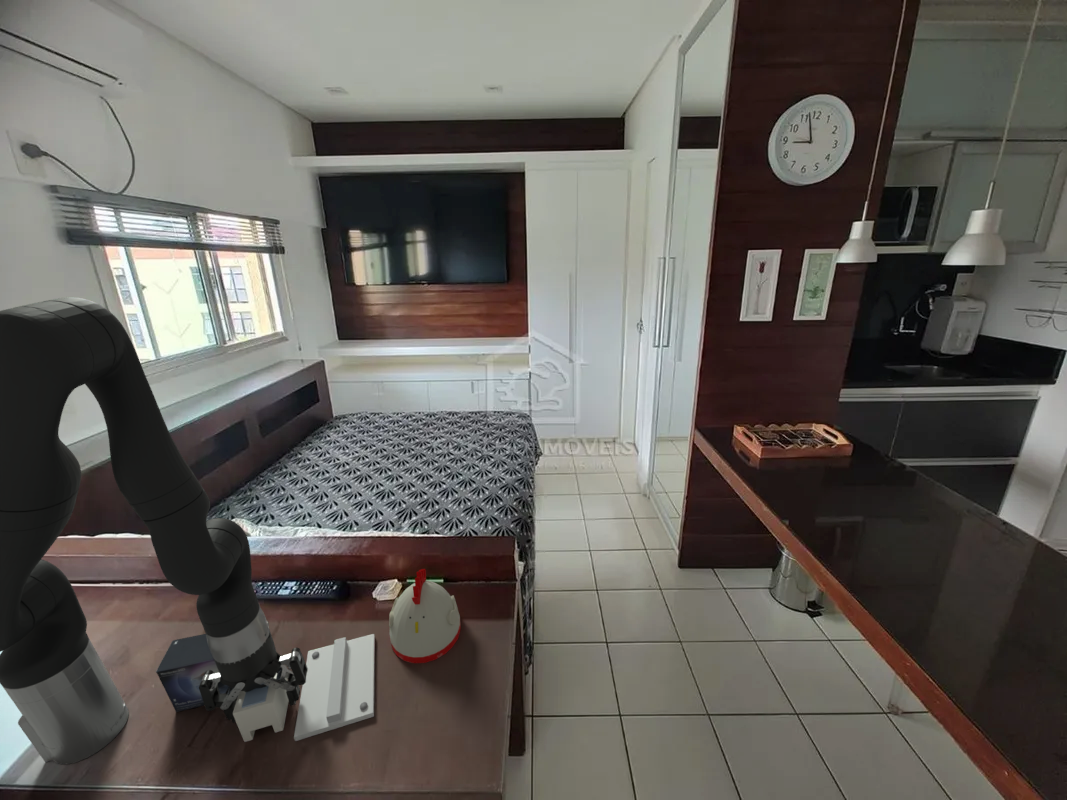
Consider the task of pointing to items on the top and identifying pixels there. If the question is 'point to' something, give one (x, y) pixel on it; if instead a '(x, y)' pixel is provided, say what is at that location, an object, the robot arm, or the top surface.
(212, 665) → the small box
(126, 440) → the robot arm
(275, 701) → the block
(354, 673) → the mounting plate
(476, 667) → the top surface
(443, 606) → the kitchen timer
